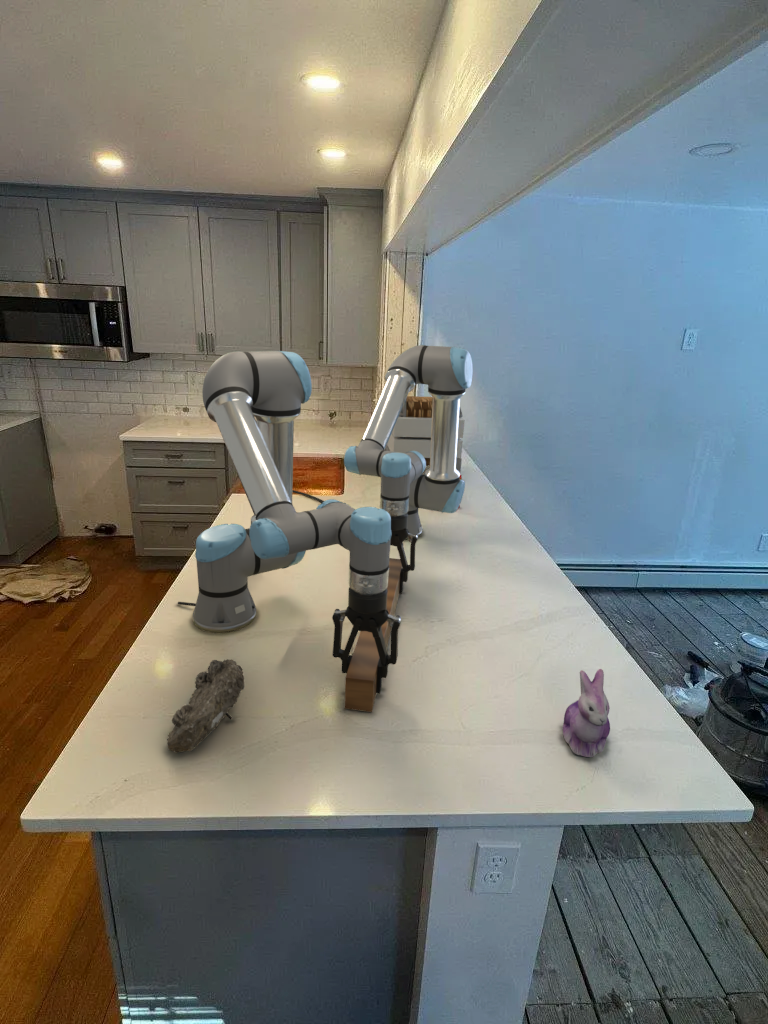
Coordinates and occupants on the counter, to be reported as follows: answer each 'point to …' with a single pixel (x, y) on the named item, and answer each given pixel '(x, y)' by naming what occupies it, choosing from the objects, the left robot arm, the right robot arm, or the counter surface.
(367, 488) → the counter surface
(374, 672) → the bar
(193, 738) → the fossil
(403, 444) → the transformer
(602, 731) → the figurine
